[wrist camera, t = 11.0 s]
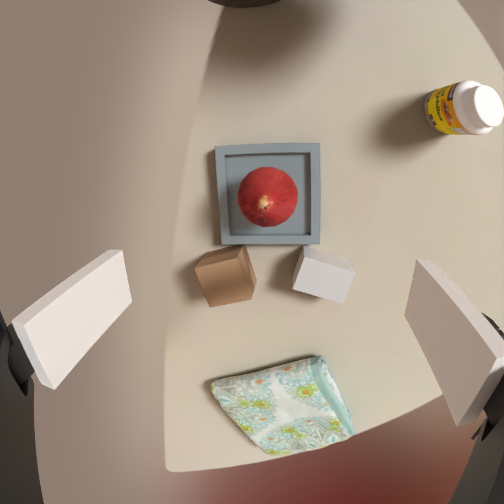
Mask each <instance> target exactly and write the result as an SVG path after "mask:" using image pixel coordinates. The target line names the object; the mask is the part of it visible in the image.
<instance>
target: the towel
mask: <svg viewBox="0 0 504 504" xmlns="http://www.w3.org/2000/svg"><path fill="white" fill-rule="evenodd" d="M211 392H212V393H213V395H214V398H215V399H217V400H218V401H219V403H220V405H221V408H222V409H223V410H224V411H225V412H226V413H227V414H228V415H229V416H230V417H231V418H232V420H233V421H234V422H235V423H236V424H237V425H238V426H239V427H240V428H241V430H242V431H243V432H244V433H245V434H246V435H247V436H248V437H249V438H250V439H251V440H252V441H253V442H254V443H255V444H256V445H257V446H258V447H259V448H260V449H261V450H262V451H264V452H265V453H267V454H269V455H284V454H291V453H296V452H301V451H307V450H312V449H316V448H320V447H323V446H327V445H330V444H333V443H335V442H338V441H344V440H346V439H348V438H349V437H351V436H352V435H354V434H355V433H356V430H355V428H354V426H353V424H352V418H351V414H350V412H349V410H348V408H347V406H346V404H345V401H344V400H343V398H342V395H341V393H340V391H339V389H338V386H337V384H336V382H335V380H334V378H333V376H332V374H331V372H330V370H329V368H328V366H327V364H326V362H325V360H324V359H323V358H322V356H317V357H313V358H308V359H303V360H299V361H295V362H291V363H287V364H283V365H280V366H276V367H273V368H269V369H265V370H261V371H258V372H254V373H249V374H244V375H239V376H233V377H227V378H222V379H218V380H215V381H213V382H212V384H211Z"/></svg>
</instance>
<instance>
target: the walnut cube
mask: <svg viewBox="0 0 504 504" xmlns="http://www.w3.org/2000/svg"><path fill="white" fill-rule="evenodd" d="M194 270H195V272H196V275H197V277H198V280H199V282H200V285H201V287H202V290H203V292H204V295H205V297H206V300H207V302H208V304H209V307H215V306H220V305H225V304H230V303H236V302H241V301H246V300H251V298H252V295H253V291H254V288H255V284H256V280H257V279H256V276H255V273H254V270H253V267H252V264H251V261H250V258H249V255H248V252H247V249H246V246H245V244H238V245H234V246H230V247H226V248H222V249H218V250H214V251H211V252H207V253H206V254H205V255H204V256H203V258H202V259H201V260H200V261H199V263H198V264H197V265H196V267H195V268H194Z"/></svg>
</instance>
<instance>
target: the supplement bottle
mask: <svg viewBox="0 0 504 504" xmlns="http://www.w3.org/2000/svg"><path fill="white" fill-rule="evenodd" d="M425 113H426V116H427V119H428V121H429V123H430V124H431V125H432V126H433V127H434V128H435V129H436V130H437V131H439V132H441V133H444V134H460V135H484V134H487V133H488V132H490V131H491V130H492V128H493V127H496V126H498V125H499V124H500V123H501V121H502V119H503V105H502V102H501V100H500V97H499V96H498V94H497V93H496V92H495V91H494V90H493V89H492V88H491V87H489V86H486V85H481V84H479V83H478V82H475V81H472V80H467V81H462V82H459V83H455V84H452V85H449V86H445V87H442V88H439V89H436V90H434V91H432V92H430V93H429V95H428V96H427V98H426V101H425Z"/></svg>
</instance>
